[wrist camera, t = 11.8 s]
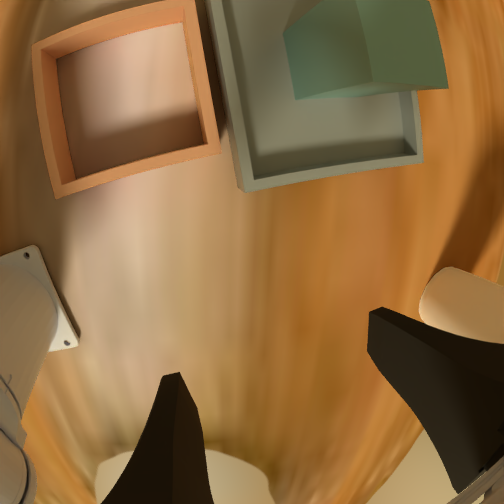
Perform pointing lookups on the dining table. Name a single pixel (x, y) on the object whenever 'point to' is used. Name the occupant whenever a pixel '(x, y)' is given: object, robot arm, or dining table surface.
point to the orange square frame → (95, 31)
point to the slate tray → (298, 106)
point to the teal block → (364, 49)
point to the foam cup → (464, 305)
